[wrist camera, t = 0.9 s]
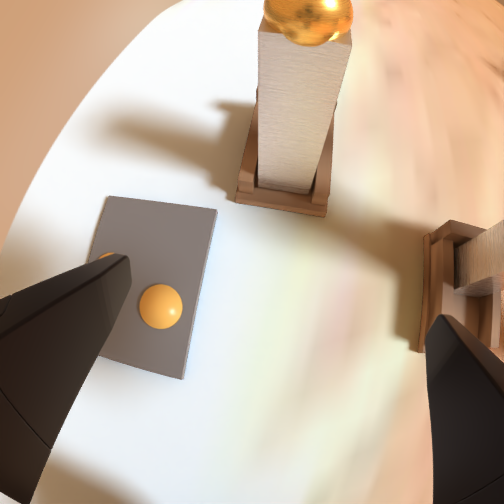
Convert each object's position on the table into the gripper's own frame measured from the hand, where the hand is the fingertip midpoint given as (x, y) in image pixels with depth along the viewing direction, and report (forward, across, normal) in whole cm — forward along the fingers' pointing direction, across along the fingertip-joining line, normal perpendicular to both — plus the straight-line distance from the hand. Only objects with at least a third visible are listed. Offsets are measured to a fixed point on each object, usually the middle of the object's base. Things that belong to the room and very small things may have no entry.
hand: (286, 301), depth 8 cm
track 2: (+12, -14, +7) cm, 20 cm away
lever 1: (+16, +1, +1) cm, 16 cm away
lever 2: (+12, -14, +5) cm, 20 cm away
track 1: (+18, +1, +1) cm, 18 cm away
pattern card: (+10, +10, +9) cm, 16 cm away
